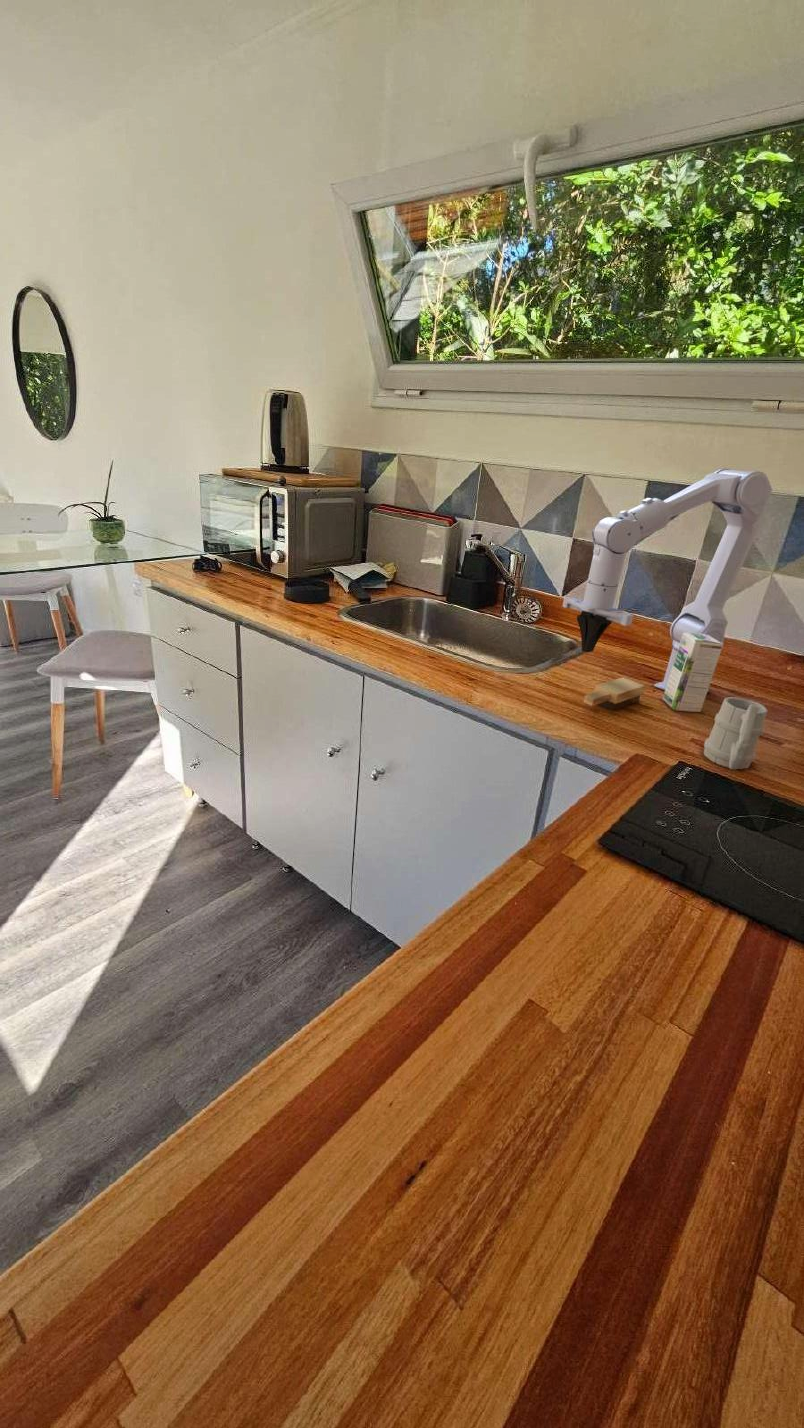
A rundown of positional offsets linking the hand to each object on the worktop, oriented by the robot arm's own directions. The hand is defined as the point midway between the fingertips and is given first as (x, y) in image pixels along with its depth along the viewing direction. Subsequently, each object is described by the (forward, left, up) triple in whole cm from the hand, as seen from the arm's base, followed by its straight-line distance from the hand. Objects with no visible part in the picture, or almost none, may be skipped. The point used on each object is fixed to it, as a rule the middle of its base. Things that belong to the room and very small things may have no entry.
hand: (587, 650), depth 119 cm
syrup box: (-12, +16, -9) cm, 22 cm away
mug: (+5, +33, -9) cm, 34 cm away
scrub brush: (+1, +8, -8) cm, 12 cm away
